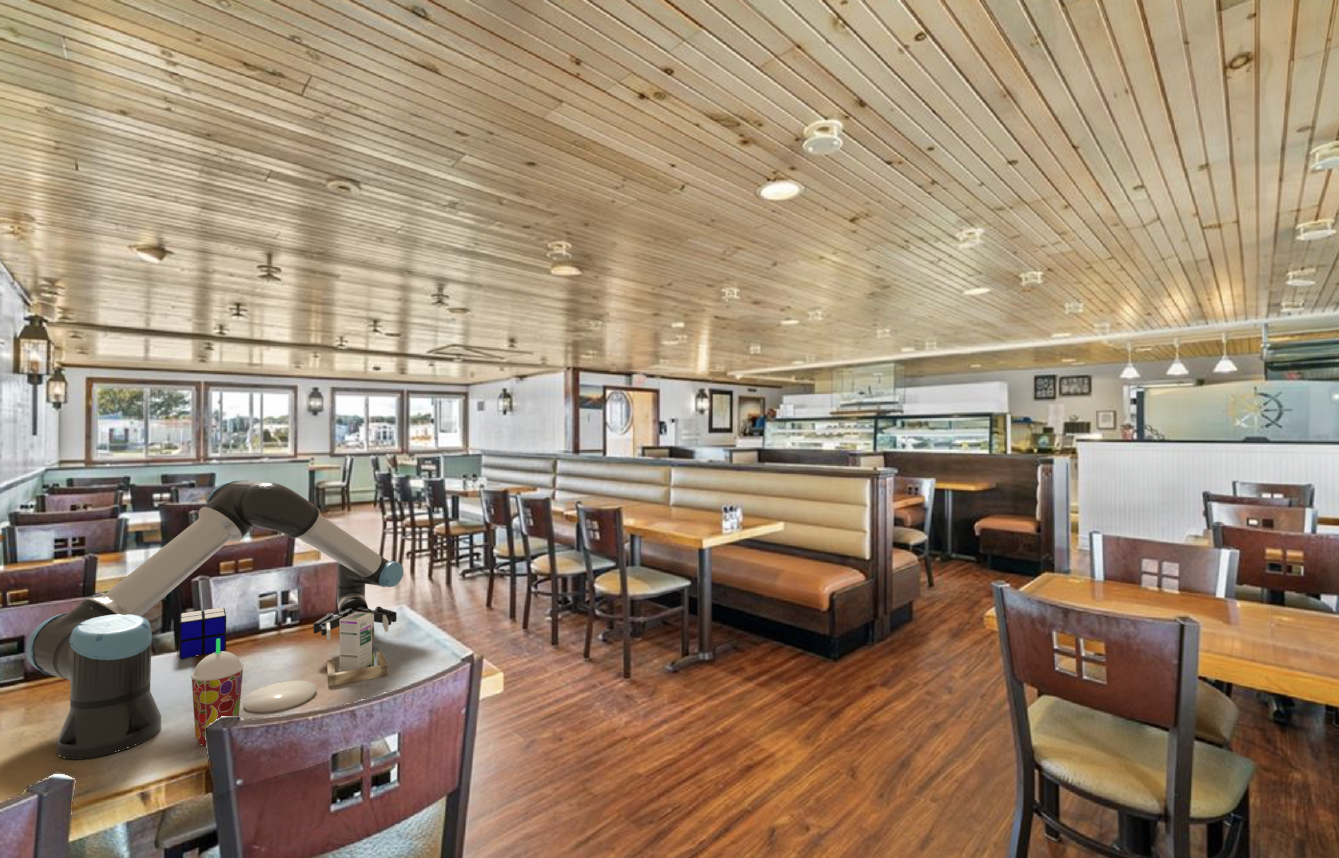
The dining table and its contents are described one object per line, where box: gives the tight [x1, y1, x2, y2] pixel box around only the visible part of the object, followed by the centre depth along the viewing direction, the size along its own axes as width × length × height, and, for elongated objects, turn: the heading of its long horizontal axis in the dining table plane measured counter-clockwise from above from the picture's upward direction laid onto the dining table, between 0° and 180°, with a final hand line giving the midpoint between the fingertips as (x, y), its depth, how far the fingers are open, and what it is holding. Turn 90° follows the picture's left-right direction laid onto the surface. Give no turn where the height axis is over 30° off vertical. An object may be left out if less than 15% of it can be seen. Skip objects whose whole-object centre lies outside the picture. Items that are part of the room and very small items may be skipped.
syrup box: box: [339, 612, 375, 672], centre depth 152 cm, size 6×6×14 cm
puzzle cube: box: [178, 607, 227, 660], centre depth 165 cm, size 10×10×10 cm
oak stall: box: [326, 650, 389, 688], centre depth 151 cm, size 13×12×2 cm
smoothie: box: [190, 638, 244, 747], centre depth 119 cm, size 8×8×20 cm
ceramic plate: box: [242, 680, 317, 713], centre depth 137 cm, size 14×14×1 cm
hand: (358, 630), depth 157 cm, fingers open, 13 cm apart
